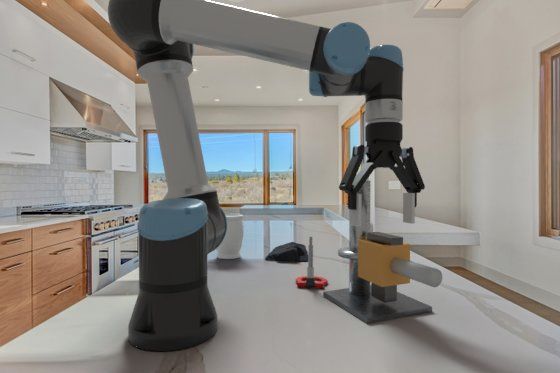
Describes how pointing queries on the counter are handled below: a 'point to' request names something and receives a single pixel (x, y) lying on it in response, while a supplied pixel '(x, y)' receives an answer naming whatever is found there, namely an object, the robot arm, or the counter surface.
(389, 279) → the bracket head
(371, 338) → the counter surface
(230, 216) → the jar
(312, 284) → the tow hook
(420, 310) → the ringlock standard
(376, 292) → the wedge
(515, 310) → the counter surface
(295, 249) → the dark slate chunk
